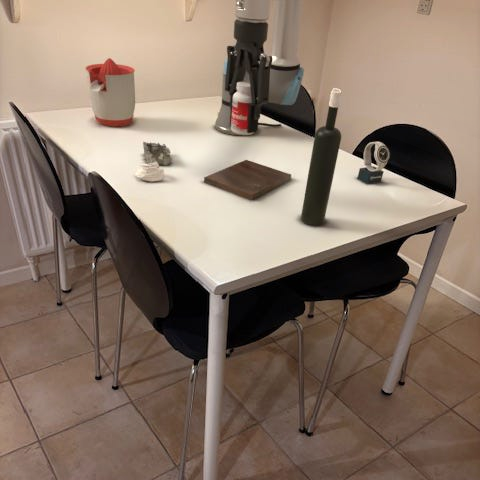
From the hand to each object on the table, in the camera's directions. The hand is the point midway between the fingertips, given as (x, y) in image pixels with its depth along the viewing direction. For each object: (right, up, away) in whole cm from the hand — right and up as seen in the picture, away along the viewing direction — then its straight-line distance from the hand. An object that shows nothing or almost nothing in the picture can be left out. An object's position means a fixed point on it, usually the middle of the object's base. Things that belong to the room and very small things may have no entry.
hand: (243, 127), depth 119 cm
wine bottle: (+17, -24, -1) cm, 29 cm away
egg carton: (-26, 0, +23) cm, 34 cm away
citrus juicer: (-45, +20, +47) cm, 68 cm away
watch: (+38, -7, +23) cm, 45 cm away
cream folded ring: (-26, -9, +12) cm, 30 cm away
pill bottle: (0, -1, +1) cm, 1 cm away
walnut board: (+2, -9, +15) cm, 18 cm away
